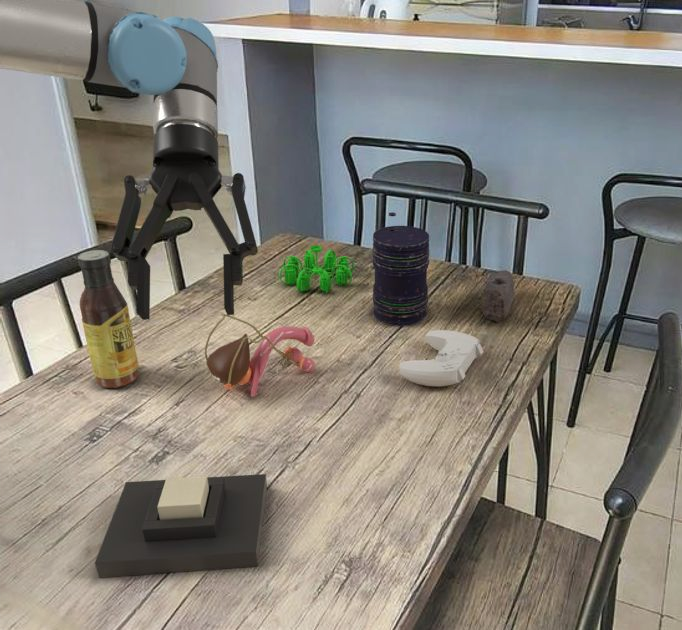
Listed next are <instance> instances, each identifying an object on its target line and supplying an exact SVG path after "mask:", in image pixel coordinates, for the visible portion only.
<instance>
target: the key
mask: <svg viewBox="0 0 682 630" xmlns="http://www.w3.org/2000/svg"><path fill="white" fill-rule="evenodd" d="M207 477H208V476H207V475H205V476H186V477H184V476H183V477H169V478H168V477H167V478H165V480H166V481H165V484H164V487H163V490H162V494H161V497H160V500H159V503H158V506H157V507H158V512H159V517H160V520H172V519H187V518H203V515H204V511H205V506H206V502H207V497H208V493H209V485H208V479H207Z"/></svg>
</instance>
